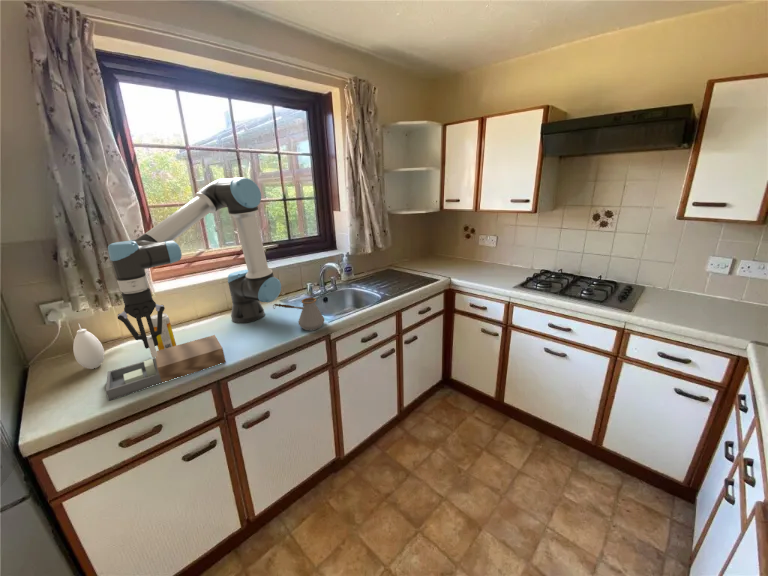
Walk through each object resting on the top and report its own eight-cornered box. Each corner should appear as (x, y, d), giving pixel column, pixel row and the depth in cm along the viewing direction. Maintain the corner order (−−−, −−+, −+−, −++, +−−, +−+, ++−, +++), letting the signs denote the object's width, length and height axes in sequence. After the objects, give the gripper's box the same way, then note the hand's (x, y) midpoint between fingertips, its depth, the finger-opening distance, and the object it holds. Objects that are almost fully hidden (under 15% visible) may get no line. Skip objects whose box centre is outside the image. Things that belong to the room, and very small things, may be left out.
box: (158, 366, 121) (156, 357, 120) (162, 383, 110) (159, 374, 109) (110, 380, 113) (107, 371, 112) (109, 400, 102) (105, 391, 101)
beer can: (173, 345, 136) (164, 311, 131) (179, 349, 132) (170, 315, 128) (157, 351, 132) (146, 316, 127) (162, 355, 128) (152, 320, 123)
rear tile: (152, 358, 115) (143, 361, 113) (153, 364, 111) (144, 367, 110) (156, 371, 116) (147, 373, 115) (157, 377, 113) (148, 379, 111)
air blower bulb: (76, 375, 117) (58, 329, 111) (88, 364, 124) (71, 320, 118) (102, 371, 119) (85, 325, 113) (112, 360, 126) (97, 317, 120)
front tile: (123, 374, 111) (125, 380, 111) (124, 380, 107) (126, 387, 108) (141, 368, 114) (143, 374, 114) (142, 374, 110) (144, 380, 111)
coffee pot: (318, 319, 155) (314, 289, 151) (329, 327, 146) (326, 295, 142) (273, 332, 144) (268, 300, 139) (282, 342, 135) (277, 308, 130)
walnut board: (217, 348, 132) (214, 334, 130) (225, 362, 121) (222, 348, 119) (158, 366, 121) (154, 351, 119) (162, 383, 110) (157, 367, 108)
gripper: (109, 297, 99) (131, 366, 106) (160, 288, 106) (177, 352, 114) (110, 291, 104) (131, 357, 112) (158, 283, 112) (175, 345, 119)
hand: (154, 354), depth 113 cm, fingers closed
